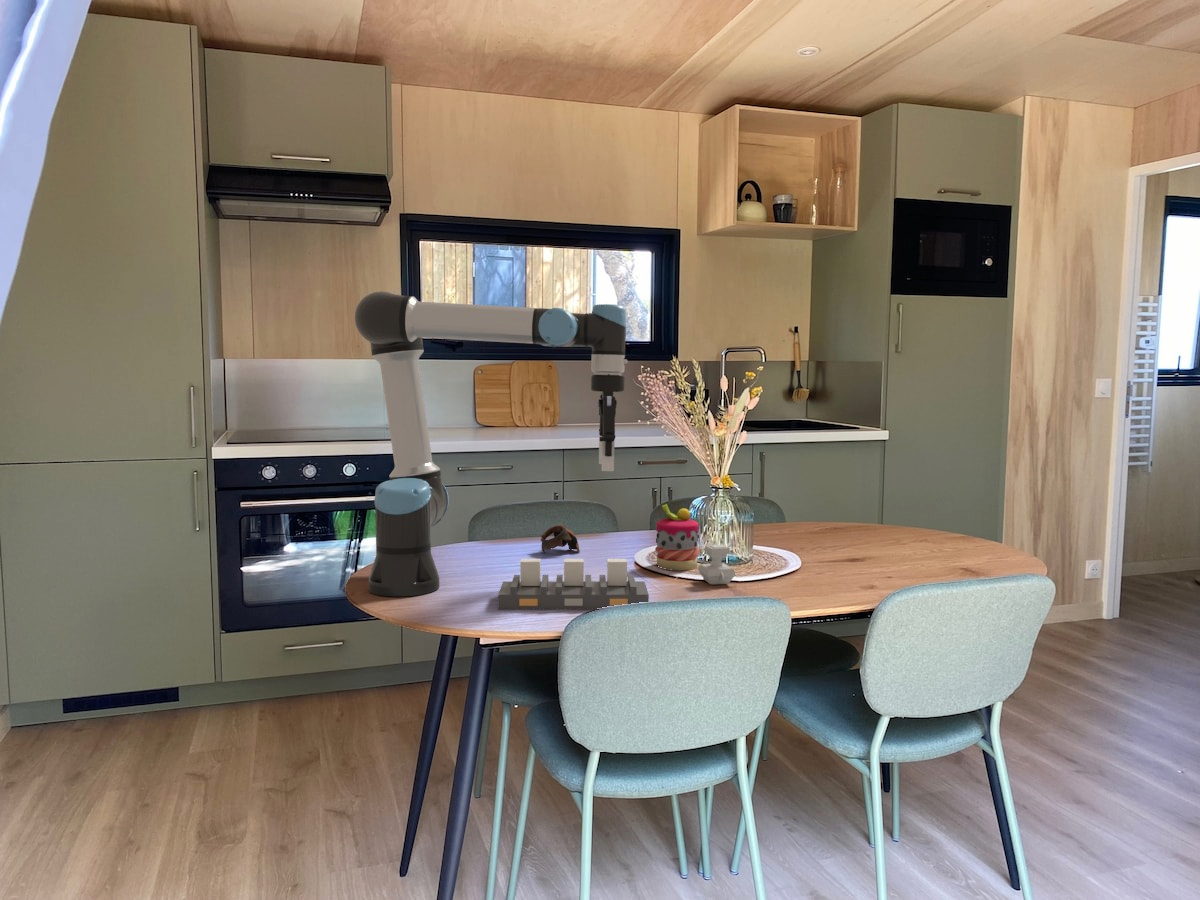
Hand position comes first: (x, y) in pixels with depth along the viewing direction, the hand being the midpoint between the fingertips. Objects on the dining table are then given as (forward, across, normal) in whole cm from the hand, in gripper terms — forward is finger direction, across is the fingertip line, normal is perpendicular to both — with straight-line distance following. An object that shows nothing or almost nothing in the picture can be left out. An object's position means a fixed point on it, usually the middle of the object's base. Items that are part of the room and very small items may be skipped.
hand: (606, 467), depth 203 cm
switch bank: (+26, -21, +7) cm, 34 cm away
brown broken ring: (+26, +29, +10) cm, 40 cm away
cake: (+25, +12, -18) cm, 33 cm away
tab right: (+22, -19, -2) cm, 29 cm away
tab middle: (+22, -19, +7) cm, 30 cm away
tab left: (+23, -19, +16) cm, 33 cm away
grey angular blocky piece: (+25, -6, -25) cm, 36 cm away
